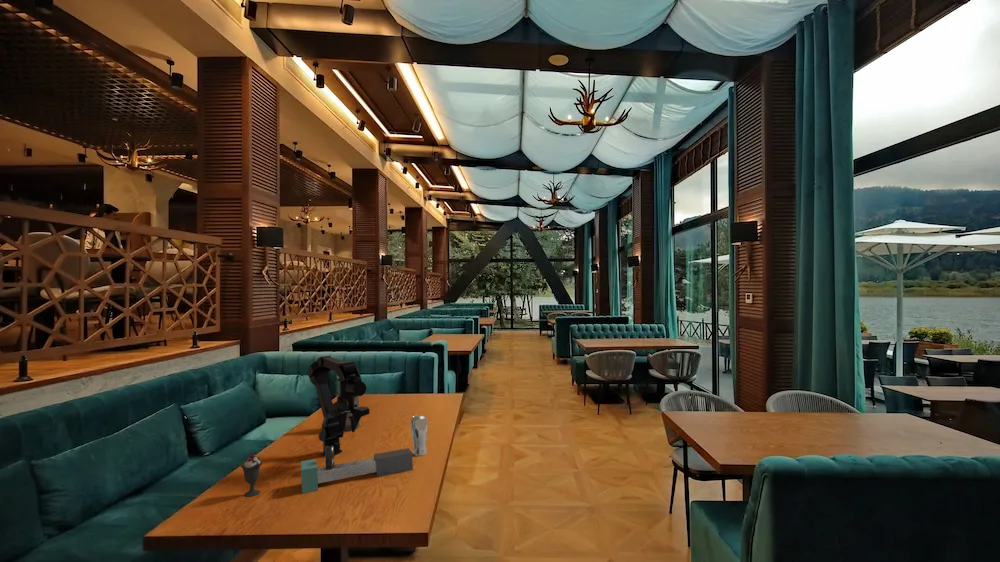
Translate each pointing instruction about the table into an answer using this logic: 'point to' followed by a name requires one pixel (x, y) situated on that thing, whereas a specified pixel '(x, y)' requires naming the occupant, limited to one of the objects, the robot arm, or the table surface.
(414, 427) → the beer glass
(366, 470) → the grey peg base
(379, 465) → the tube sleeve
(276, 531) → the table surface
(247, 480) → the sundae
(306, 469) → the socket block
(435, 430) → the table surface
